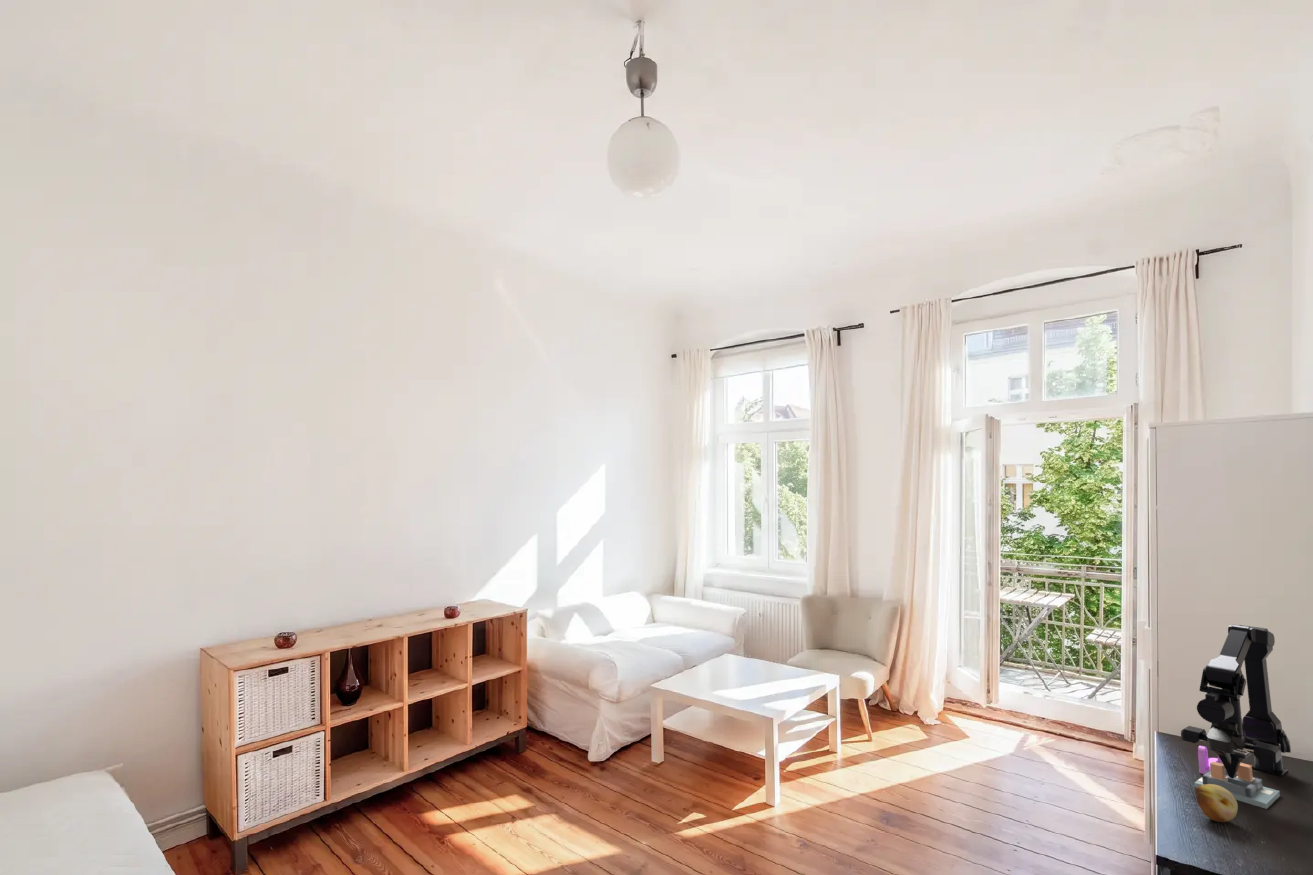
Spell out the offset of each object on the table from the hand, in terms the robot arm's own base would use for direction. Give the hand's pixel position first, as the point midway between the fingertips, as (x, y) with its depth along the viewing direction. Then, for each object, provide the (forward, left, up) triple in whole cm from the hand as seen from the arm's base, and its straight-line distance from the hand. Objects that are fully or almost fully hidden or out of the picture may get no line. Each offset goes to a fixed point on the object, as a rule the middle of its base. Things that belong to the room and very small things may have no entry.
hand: (1232, 777), depth 163 cm
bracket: (-15, -7, -4) cm, 17 cm away
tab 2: (-5, +1, -3) cm, 6 cm away
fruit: (+21, +2, -4) cm, 21 cm away
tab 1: (0, -3, -3) cm, 4 cm away
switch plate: (-2, 0, -4) cm, 5 cm away
